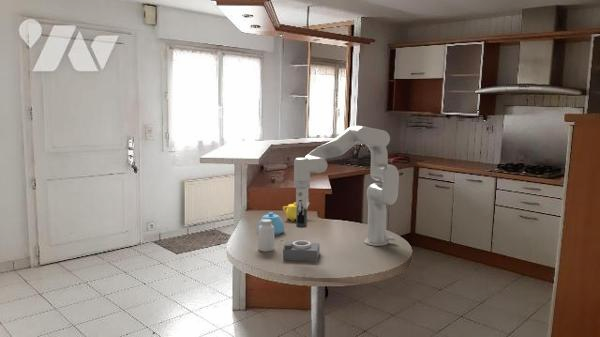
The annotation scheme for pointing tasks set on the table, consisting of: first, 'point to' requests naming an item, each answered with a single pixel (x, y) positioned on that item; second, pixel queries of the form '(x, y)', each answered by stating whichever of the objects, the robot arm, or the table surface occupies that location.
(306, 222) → the lens
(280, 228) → the sugar bowl
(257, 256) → the table surface
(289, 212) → the teapot
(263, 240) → the pill bottle
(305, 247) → the camera body
